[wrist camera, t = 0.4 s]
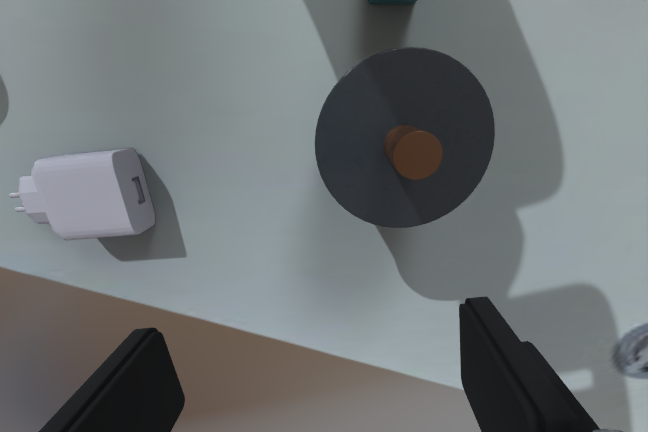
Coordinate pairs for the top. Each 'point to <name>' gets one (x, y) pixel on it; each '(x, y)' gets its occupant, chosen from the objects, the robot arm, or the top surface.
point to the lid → (404, 137)
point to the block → (392, 1)
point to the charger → (88, 194)
